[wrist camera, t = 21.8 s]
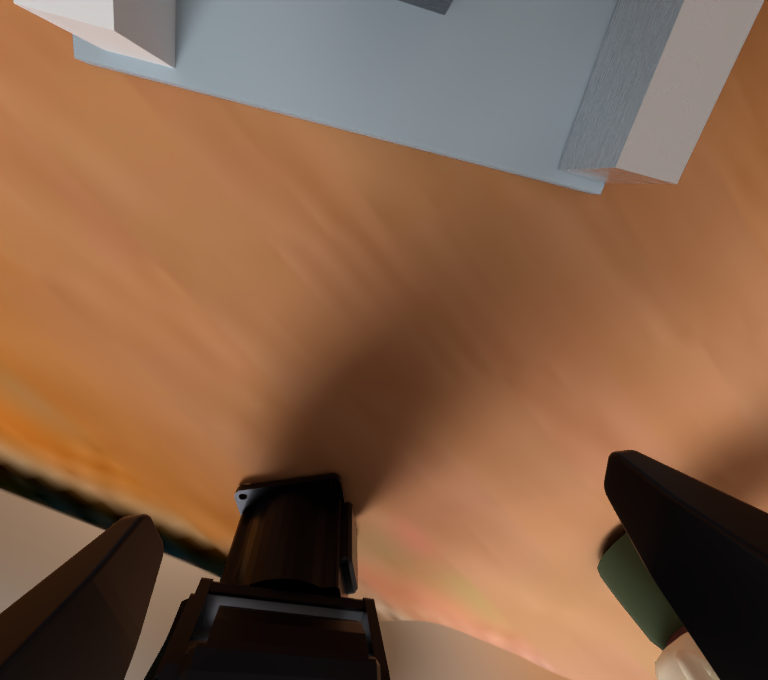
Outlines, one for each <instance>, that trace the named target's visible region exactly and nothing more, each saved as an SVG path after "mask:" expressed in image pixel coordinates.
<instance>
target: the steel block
mask: <svg viewBox="0 0 768 680" xmlns="http://www.w3.org/2000/svg"><path fill="white" fill-rule="evenodd" d="M398 1H402V2H405V3H408V4H411V5H414V6H417V7H420V8H423V9H427V10H430V11H433V12H436V13H439V14H442V15H445V14H446V12H447V10H448V9H449V7H450V5H451V3H452V2H453V0H398Z"/></svg>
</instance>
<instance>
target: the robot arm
mask: <svg viewBox="0 0 768 680" xmlns="http://www.w3.org/2000/svg"><path fill="white" fill-rule="evenodd" d="M332 481H333V482H336V483H331V482H332ZM604 489H605V492H606V495H607V497H608V499H609V501H610V503H611V505H612V506H613V508H614V510H615V512H616V514H617V516H618V517H619V519H620V521H621V523H622V525H623V527H624V528H625V530H626V532H627V534H628V536H629V538H630V539H631V541H632V543H633V545H634V547H635V549H636V550H637V552H638V554H639V556H640V558H641V560H642V561H643V563H644V565H645V567H646V568H647V570H648V572H649V573H650V575H651V577H652V578H653V580H654V581H655V583H656V584H657V586H658V588H659V589H660V591H661V592H662V594H663V595H664V597H665V598H666V600H667V601H668V603H669V604H670V606H671V607H672V609H673V610H674V612H675V613H676V615H677V616H678V618H679V619H680V621H681V622H682V624H683V625H684V627H685V628H686V630H687V631H688V633H689V634H690V636H691V637H692V639H693V640H694V642H695V643H696V645H697V646H698V648H699V649H700V651H701V652H702V654H703V655H704V657H705V658H706V660H707V661H708V663H709V664H710V666H711V667H712V669H713V670H714V672H715V673H716V675H717V676H718V678H719V679H720V680H768V513H766V512H764V511H762V510H760V509H758V508H756V507H753V506H751V505H749V504H747V503H745V502H743V501H741V500H739V499H737V498H734V497H732V496H730V495H728V494H726V493H724V492H722V491H720V490H718V489H715V488H713V487H711V486H709V485H707V484H705V483H703V482H701V481H698V480H696V479H694V478H692V477H690V476H688V475H686V474H684V473H682V472H679V471H677V470H675V469H673V468H671V467H669V466H667V465H665V464H663V463H660V462H658V461H656V460H654V459H652V458H650V457H648V456H646V455H644V454H641V453H639V452H637V451H634V450H624V451H616V452H613V453H611V454H610V456H609V458H608V463H607V469H606V474H605V480H604ZM243 494H246V495H243ZM235 500H236V503H237V506H238V509H239V512H240V515H241V518H240V521H239V524H238V527H237V530H236V533H235V536H234V539H233V542H232V545H231V548H230V551H229V554H228V557H227V560H226V564H225V567H224V570H223V573H222V576H221V579H220V582H215V581H213V579H209V578H201V580H200V583H199V585H198V588H197V590H196V592H195V594H191V595H190V597H189V598H188V599H186V600H184V601H182V602H181V604H180V607H179V610H178V612H177V615H176V617H175V619H174V622H173V625H172V627H171V629H170V632H169V634H168V636H167V638H166V640H165V642H164V644H163V646H162V648H161V650H160V651H159V653H158V655H157V657H156V659H155V660H154V662H153V664H152V666H151V667H150V669H149V671H148V673H147V675H146V676H145V678H144V680H390V677H389V670H388V665H387V661H386V656H385V651H384V646H383V641H382V636H381V631H380V627H379V622H378V617H377V612H376V607H375V603H374V599H370V598H363V599H354V598H348V594H353V593H355V592H356V590H357V589H358V572H357V529H356V523H355V518H354V512H353V506H352V504H351V503H350V502H346V501H345V496H344V491H343V485H342V480H341V477H340V476H339V475H337V474H326V475H319V476H311V477H304V478H296V479H288V480H281V481H273V482H266V483H258V484H251V485H243V486H240V487H238V488H237V490H236V493H235ZM162 557H163V542H162V540H161V538H160V536H159V534H158V532H157V529H156V527H155V525H154V523H153V521H152V519H151V517H150V516H148V515H147V514H140V515H132V516H126V517H123V518H121V519H120V520H119V521H117V522H116V523H115V524H113V525H112V526H111V527H110V528H108V529H107V530H106V531H105V532H103V533H102V534H101V535H99V536H98V537H97V538H96V539H94V540H93V541H92V542H91V543H89V544H88V545H87V546H86V547H84V548H83V549H82V550H80V551H79V552H78V553H77V554H75V555H74V556H73V557H72V558H70V559H69V560H68V561H67V562H65V563H64V564H63V565H62V566H60V567H59V568H58V569H57V570H55V571H54V572H53V573H51V574H50V575H49V576H48V577H46V578H45V579H44V580H42V581H41V582H40V583H39V584H38V585H36V586H35V587H34V588H33V589H31V590H30V591H28V592H27V593H26V594H25V595H23V596H22V597H21V598H20V599H18V600H17V601H16V602H14V603H13V604H12V605H11V606H10V607H8V608H7V609H6V610H4V611H3V612H2V613H1V614H0V680H124V678H125V675H126V672H127V670H128V668H129V665H130V662H131V659H132V657H133V654H134V651H135V649H136V645H137V642H138V639H139V636H140V633H141V629H142V626H143V623H144V619H145V616H146V613H147V609H148V606H149V602H150V598H151V595H152V592H153V588H154V585H155V582H156V578H157V575H158V571H159V568H160V564H161V561H162Z"/></svg>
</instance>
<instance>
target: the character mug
mask: <svg viewBox="0 0 768 680" xmlns="http://www.w3.org/2000/svg"><path fill="white" fill-rule="evenodd" d="M597 568H598V571H599V574H600V576H601V578H602V579H603V581H604V582H605V583H606V585H607V586H608V587H609V589H610V590H611V592H612V593H613V594H614V596H615V597H616V598H617V600H618V601H619V602H620V604H621V605H622V606H623V607H624V609H625V610H626V611H627V612H628V614H629V615H630V616H631V617H632V619H633V620H634V621H635V622H636V623H637V625H638V626H639V627H640V628H641V630H642V631H643V632H644V633H645V635H646V636H647V637H648V638H649V640H650V641H651V642H653V643H654V644H655V645H656V646H658V647H659V648H660V649H661V650H663V652H662V653H661V655H660V656H659V658H658V659H657V661H656V662H655V674H656V676H657V679H658V680H720V679H719V678H718V676H717V675H716V673H715V672H714V670H713V669H712V667H711V666H710V664H709V663H708V661H707V660H706V658H705V657H704V655H703V654H702V652H701V651H700V649H699V648H698V646H697V645H696V643H695V642H694V640H693V639H692V637H691V636H690V634H689V633H688V631H687V630H686V628H685V627H684V625H683V624H682V622H681V621H680V619H679V618H678V616H677V615H676V613H675V612H674V610H673V609H672V607H671V606H670V604H669V603H668V601H667V600H666V598H665V597H664V595H663V594H662V592H661V591H660V589H659V588H658V586H657V584H656V583H655V581H654V580H653V578H652V577H651V575H650V573H649V572H648V570H647V568H646V567H645V565H644V563H643V561H642V560H641V558H640V556H639V554H638V552H637V550H636V549H635V547H634V545H633V543H632V541H631V539H630V538H629V536H628V534H627V533H625V534H624V535H623V536H622V537H621V538H620V539H619V540H617V541H616V542H615V543H614V544H613V545H612V546H611V547H610V548H609V549H608V551H607V552H606V553H605V554H604V555H603V556H602V558H601V560H600V563H599V565H598V567H597Z"/></svg>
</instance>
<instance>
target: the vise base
mask: <svg viewBox="0 0 768 680" xmlns="http://www.w3.org/2000/svg"><path fill="white" fill-rule="evenodd" d="M617 3H618V0H453V2H452V3H451V5H450V7H449V9H448V10H447V12H446V14H445V15H442V14H439V13H436V12H433V11H430V10H427V9H423V8H420V7H417V6H414V5H411V4H408V3H405V2H402V1H398V0H14V4H16V5H18V6H20V7H22V8H24V9H26V10H28V11H30V12H32V13H34V14H36V15H38V16H39V17H41V18H43V19H45V20H47V21H49V22H51V23H53V24H55V25H57V26H59V27H61V28H63V29H64V30H66V31H68V32H70V33H72V34H73V46H74V58H76V59H78V60H80V61H83V62H85V63H87V64H90V65H94V66H98V67H102V68H106V69H110V70H114V71H117V72H121V73H125V74H129V75H133V76H137V77H141V78H145V79H148V80H152V81H156V82H160V83H164V84H168V85H172V86H175V87H179V88H183V89H187V90H191V91H195V92H199V93H203V94H206V95H210V96H214V97H218V98H222V99H226V100H230V101H233V102H237V103H241V104H245V105H249V106H253V107H257V108H261V109H264V110H268V111H272V112H276V113H280V114H284V115H288V116H291V117H295V118H299V119H303V120H307V121H311V122H315V123H318V124H322V125H326V126H330V127H334V128H338V129H342V130H346V131H349V132H353V133H357V134H361V135H365V136H369V137H373V138H376V139H380V140H384V141H388V142H392V143H396V144H400V145H404V146H407V147H411V148H415V149H419V150H423V151H427V152H431V153H434V154H438V155H442V156H446V157H450V158H454V159H458V160H462V161H465V162H469V163H473V164H477V165H481V166H485V167H489V168H492V169H496V170H500V171H504V172H508V173H512V174H516V175H520V176H523V177H527V178H531V179H535V180H539V181H543V182H547V183H550V184H554V185H558V186H562V187H566V188H570V189H574V190H577V191H581V192H585V193H589V194H601V192H602V190H603V187H604V185H605V182H601V181H597V180H593V179H590V178H586V177H582V176H578V175H574V174H571V173H567V172H563V171H559V170H557V169H558V166H559V164H560V161H561V158H562V155H563V153H564V150H565V147H566V144H567V142H568V139H569V136H570V133H571V130H572V128H573V125H574V122H575V119H576V117H577V114H578V111H579V108H580V105H581V103H582V100H583V97H584V94H585V92H586V89H587V86H588V83H589V80H590V78H591V75H592V72H593V69H594V67H595V64H596V61H597V58H598V55H599V53H600V50H601V47H602V44H603V42H604V39H605V36H606V33H607V31H608V28H609V25H610V22H611V19H612V17H613V14H614V11H615V8H616V6H617Z"/></svg>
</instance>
